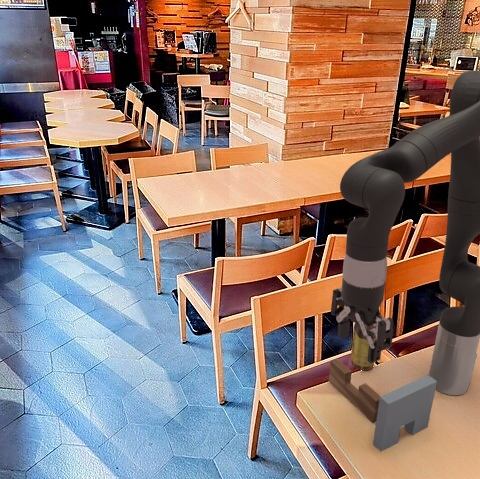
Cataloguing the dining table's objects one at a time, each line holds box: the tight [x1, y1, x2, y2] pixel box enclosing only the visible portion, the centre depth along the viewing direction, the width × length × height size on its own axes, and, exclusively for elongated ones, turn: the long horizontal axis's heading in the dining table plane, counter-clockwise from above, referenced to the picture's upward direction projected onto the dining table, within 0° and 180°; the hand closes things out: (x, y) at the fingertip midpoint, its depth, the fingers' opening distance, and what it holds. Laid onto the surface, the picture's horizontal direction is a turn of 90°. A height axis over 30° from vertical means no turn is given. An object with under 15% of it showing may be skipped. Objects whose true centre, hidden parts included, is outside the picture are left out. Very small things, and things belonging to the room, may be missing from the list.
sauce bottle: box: [350, 323, 377, 371], centre depth 119 cm, size 7×6×20 cm
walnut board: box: [328, 358, 382, 424], centre depth 109 cm, size 2×16×6 cm, turn 28°
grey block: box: [372, 374, 437, 452], centre depth 98 cm, size 14×2×13 cm, turn 118°
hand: (357, 348), depth 89 cm, fingers open, 8 cm apart
